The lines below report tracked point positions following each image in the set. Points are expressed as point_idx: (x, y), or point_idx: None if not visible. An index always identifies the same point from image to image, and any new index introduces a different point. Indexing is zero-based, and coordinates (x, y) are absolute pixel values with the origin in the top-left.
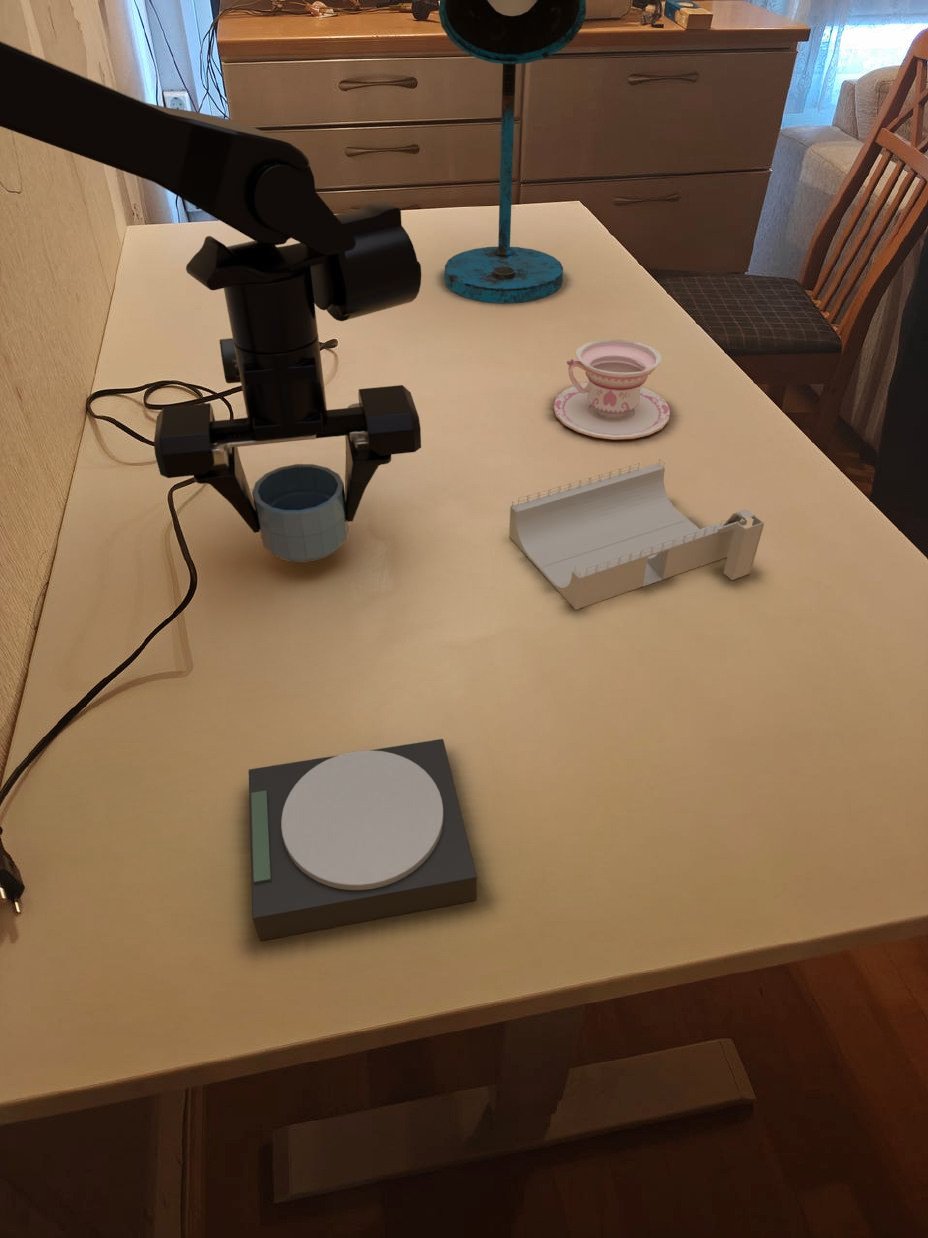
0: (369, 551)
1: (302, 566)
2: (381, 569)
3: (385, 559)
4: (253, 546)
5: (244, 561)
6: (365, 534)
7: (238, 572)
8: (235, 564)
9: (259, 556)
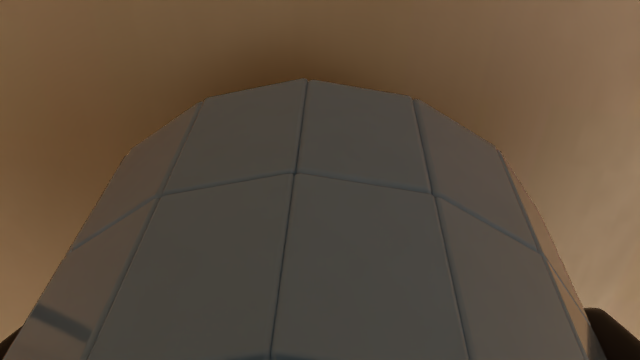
0: (590, 177)
1: None
2: (598, 279)
3: (637, 232)
4: (58, 60)
5: (48, 157)
6: (616, 52)
7: (44, 215)
8: (15, 169)
9: (105, 135)
